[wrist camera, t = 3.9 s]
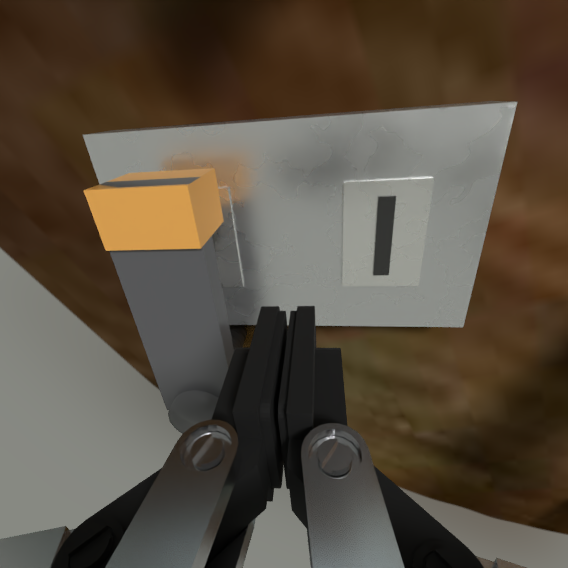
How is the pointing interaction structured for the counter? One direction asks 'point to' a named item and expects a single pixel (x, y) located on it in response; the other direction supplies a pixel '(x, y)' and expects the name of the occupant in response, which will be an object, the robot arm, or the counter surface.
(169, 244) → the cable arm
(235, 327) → the pivot post
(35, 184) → the counter surface
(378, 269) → the panel
